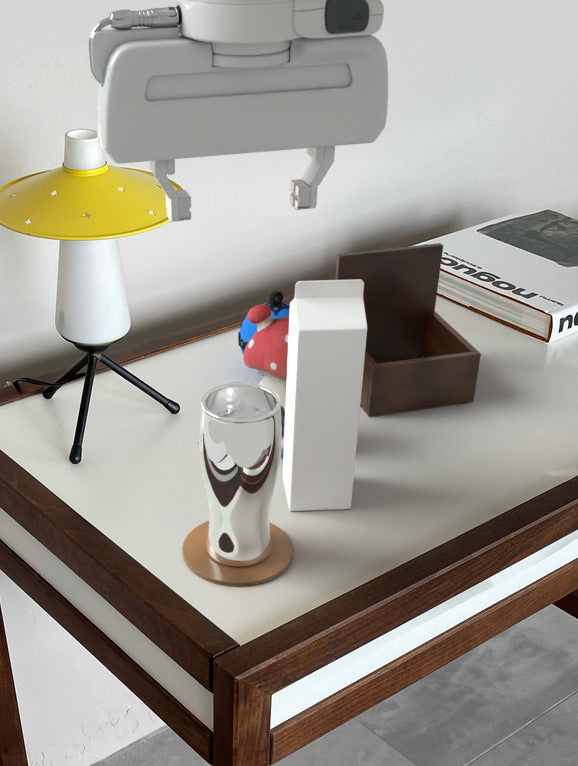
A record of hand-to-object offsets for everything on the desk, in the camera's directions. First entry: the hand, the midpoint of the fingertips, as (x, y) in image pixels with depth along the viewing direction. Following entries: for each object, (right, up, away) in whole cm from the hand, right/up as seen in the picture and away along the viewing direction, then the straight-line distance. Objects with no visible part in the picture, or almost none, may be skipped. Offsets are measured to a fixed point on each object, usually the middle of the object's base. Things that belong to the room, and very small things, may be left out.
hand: (241, 212), depth 74 cm
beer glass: (0, -25, +18) cm, 31 cm away
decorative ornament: (+6, -15, +33) cm, 37 cm away
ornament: (+6, -5, +47) cm, 48 cm away
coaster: (0, -25, +18) cm, 31 cm away
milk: (+8, -20, +25) cm, 34 cm away
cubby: (+20, -7, +44) cm, 49 cm away
